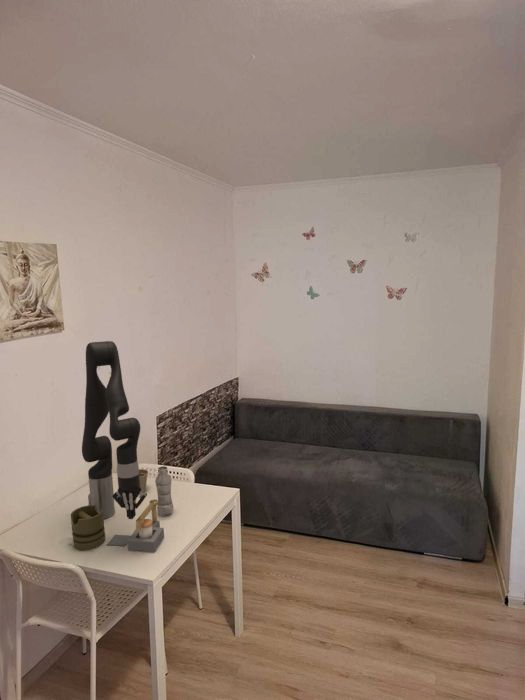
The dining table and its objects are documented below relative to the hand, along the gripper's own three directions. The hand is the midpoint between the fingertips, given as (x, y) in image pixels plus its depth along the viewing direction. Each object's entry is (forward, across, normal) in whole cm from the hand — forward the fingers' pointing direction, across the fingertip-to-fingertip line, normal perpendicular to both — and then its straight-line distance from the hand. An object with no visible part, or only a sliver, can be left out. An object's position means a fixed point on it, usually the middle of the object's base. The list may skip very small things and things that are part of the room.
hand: (131, 518), depth 177 cm
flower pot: (+11, -16, +44) cm, 48 cm away
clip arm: (+2, +5, +3) cm, 6 cm away
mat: (+10, -6, +2) cm, 12 cm away
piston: (+11, -17, 0) cm, 20 cm away
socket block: (+11, +5, +4) cm, 12 cm away
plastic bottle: (+11, +4, +24) cm, 27 cm away
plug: (+11, +5, +1) cm, 12 cm away
